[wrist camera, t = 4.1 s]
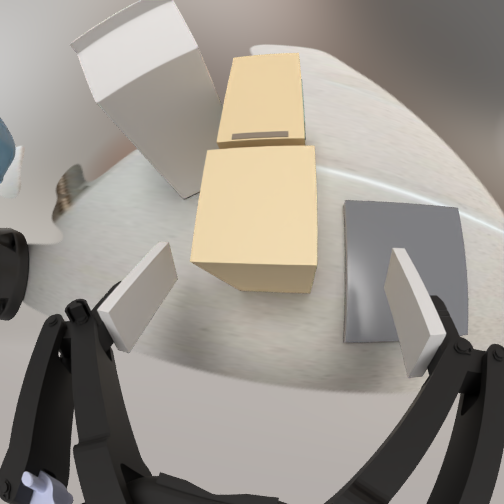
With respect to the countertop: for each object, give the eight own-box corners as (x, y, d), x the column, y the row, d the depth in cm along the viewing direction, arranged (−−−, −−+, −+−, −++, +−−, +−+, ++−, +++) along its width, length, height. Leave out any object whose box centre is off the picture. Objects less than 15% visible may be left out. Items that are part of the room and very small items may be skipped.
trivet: (343, 341, 21) (345, 342, 20) (343, 205, 24) (345, 200, 23) (461, 334, 18) (467, 334, 17) (452, 212, 21) (457, 207, 20)
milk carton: (247, 170, 26) (176, -4, 8) (184, 200, 27) (61, 63, 9) (225, 126, 29) (161, -18, 11) (169, 152, 29) (76, 30, 11)
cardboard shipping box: (250, 214, 25) (215, 141, 15) (256, 138, 27) (232, 57, 17) (306, 214, 24) (305, 137, 14) (304, 137, 26) (299, 52, 16)
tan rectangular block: (240, 290, 23) (190, 261, 13) (245, 220, 25) (207, 150, 15) (310, 293, 22) (318, 265, 12) (312, 220, 24) (315, 145, 14)
